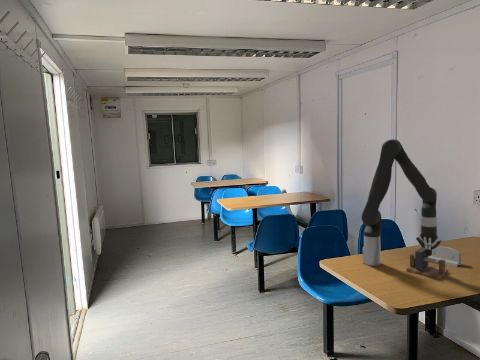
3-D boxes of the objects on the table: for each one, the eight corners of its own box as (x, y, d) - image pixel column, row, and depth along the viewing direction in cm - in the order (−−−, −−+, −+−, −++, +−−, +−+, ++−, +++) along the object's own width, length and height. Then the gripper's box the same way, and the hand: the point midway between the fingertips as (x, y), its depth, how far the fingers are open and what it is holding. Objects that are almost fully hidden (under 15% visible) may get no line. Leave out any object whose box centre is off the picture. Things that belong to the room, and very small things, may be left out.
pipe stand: (406, 271, 190) (406, 256, 189) (415, 265, 198) (415, 251, 197) (440, 279, 177) (440, 263, 177) (448, 272, 185) (448, 257, 184)
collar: (415, 269, 187) (415, 251, 186) (422, 264, 194) (422, 247, 193) (421, 270, 185) (420, 252, 184) (428, 265, 192) (428, 248, 191)
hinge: (427, 260, 206) (430, 243, 207) (430, 260, 208) (433, 244, 209) (457, 267, 192) (460, 249, 193) (461, 268, 194) (463, 250, 195)
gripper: (413, 224, 187) (413, 255, 189) (439, 227, 177) (439, 260, 179) (418, 221, 192) (418, 251, 194) (444, 224, 182) (444, 256, 184)
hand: (428, 255), depth 186 cm, fingers closed
